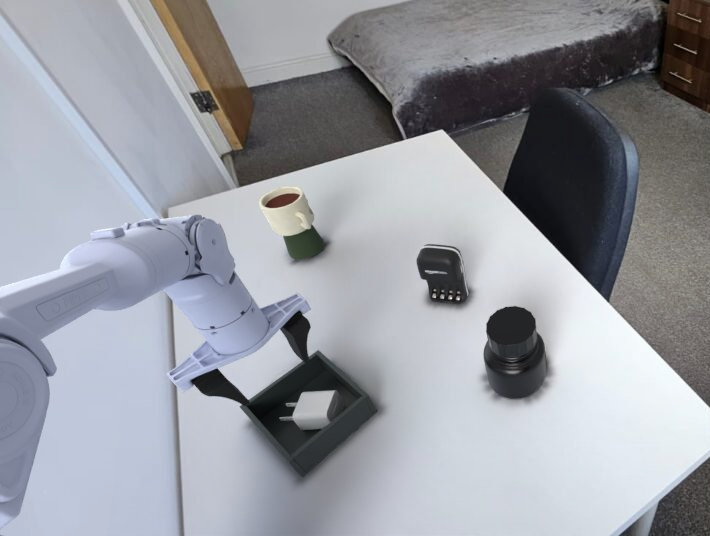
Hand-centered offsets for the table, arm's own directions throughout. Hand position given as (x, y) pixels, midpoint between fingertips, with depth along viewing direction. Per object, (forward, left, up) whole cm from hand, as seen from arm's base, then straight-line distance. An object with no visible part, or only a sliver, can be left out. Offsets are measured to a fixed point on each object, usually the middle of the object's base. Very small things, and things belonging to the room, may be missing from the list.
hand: (274, 377), depth 60 cm
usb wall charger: (+1, -2, -9) cm, 9 cm away
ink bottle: (+23, -20, -10) cm, 32 cm away
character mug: (+19, +31, -10) cm, 38 cm away
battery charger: (+27, 0, -10) cm, 29 cm away
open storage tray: (+1, -2, -9) cm, 10 cm away
